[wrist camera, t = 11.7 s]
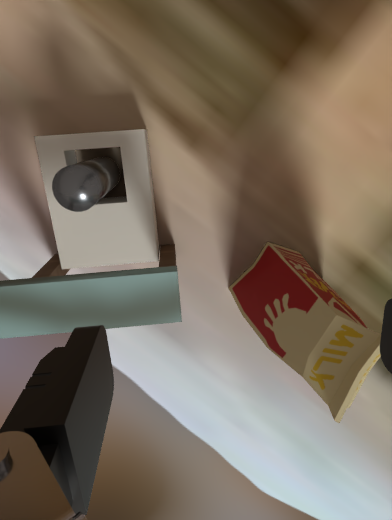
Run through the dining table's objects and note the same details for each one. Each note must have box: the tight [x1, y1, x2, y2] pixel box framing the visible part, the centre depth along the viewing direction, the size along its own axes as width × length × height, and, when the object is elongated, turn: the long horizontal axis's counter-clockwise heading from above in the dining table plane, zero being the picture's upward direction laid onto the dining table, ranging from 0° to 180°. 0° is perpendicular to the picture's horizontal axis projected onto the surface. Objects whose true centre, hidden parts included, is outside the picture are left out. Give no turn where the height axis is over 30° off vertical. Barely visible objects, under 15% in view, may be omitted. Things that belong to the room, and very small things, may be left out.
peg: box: [52, 157, 121, 212], centre depth 31 cm, size 3×3×12 cm
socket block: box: [34, 129, 159, 269], centre depth 36 cm, size 13×10×4 cm
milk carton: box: [229, 242, 381, 423], centre depth 33 cm, size 9×9×20 cm
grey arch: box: [0, 244, 182, 339], centre depth 33 cm, size 4×14×15 cm, turn 94°
